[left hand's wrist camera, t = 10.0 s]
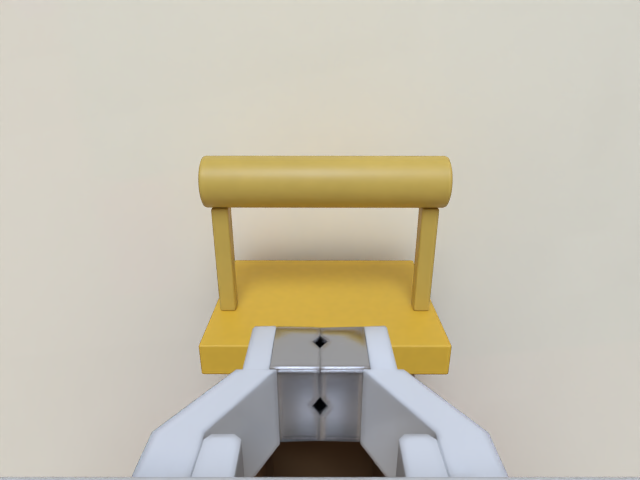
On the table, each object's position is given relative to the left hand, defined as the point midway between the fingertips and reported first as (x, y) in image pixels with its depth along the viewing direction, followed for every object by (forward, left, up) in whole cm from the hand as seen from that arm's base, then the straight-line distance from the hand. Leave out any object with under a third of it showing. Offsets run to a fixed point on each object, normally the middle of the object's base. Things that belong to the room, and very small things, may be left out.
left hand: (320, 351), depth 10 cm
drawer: (+3, +8, -11) cm, 14 cm away
